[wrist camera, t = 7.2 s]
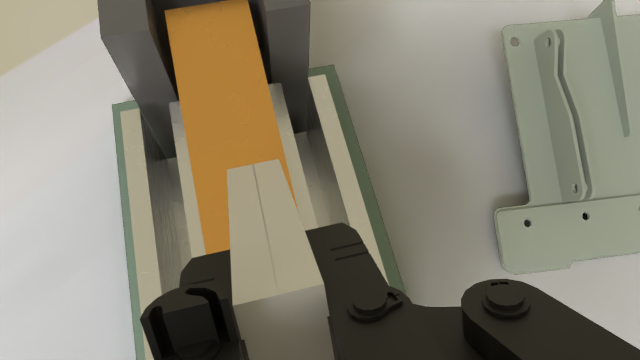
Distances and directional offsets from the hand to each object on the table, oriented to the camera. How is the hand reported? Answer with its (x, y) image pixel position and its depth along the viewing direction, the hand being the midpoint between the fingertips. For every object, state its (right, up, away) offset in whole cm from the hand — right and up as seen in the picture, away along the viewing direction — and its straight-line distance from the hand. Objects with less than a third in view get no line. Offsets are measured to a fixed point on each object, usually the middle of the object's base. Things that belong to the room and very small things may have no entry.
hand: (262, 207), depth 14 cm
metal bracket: (+17, +3, +13) cm, 22 cm away
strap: (-1, 0, +2) cm, 2 cm away
